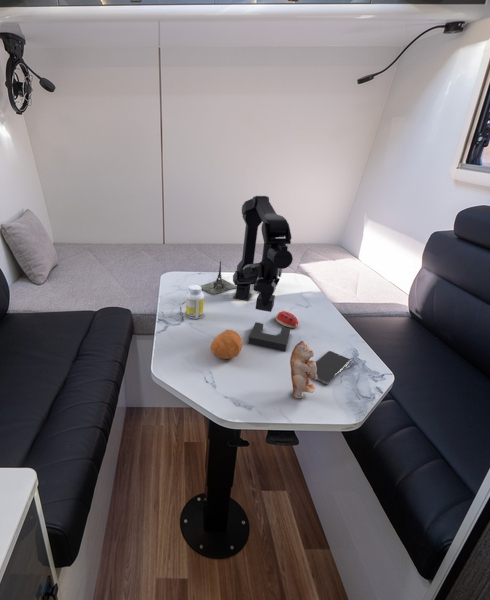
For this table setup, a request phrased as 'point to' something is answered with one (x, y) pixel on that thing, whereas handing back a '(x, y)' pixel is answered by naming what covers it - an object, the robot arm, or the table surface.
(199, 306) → the pill bottle
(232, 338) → the potato
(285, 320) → the ladybug figurine
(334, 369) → the smartphone
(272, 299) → the black block
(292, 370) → the figurine
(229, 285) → the eiffel tower figurine
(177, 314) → the table surface
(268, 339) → the notched pad
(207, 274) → the table surface
